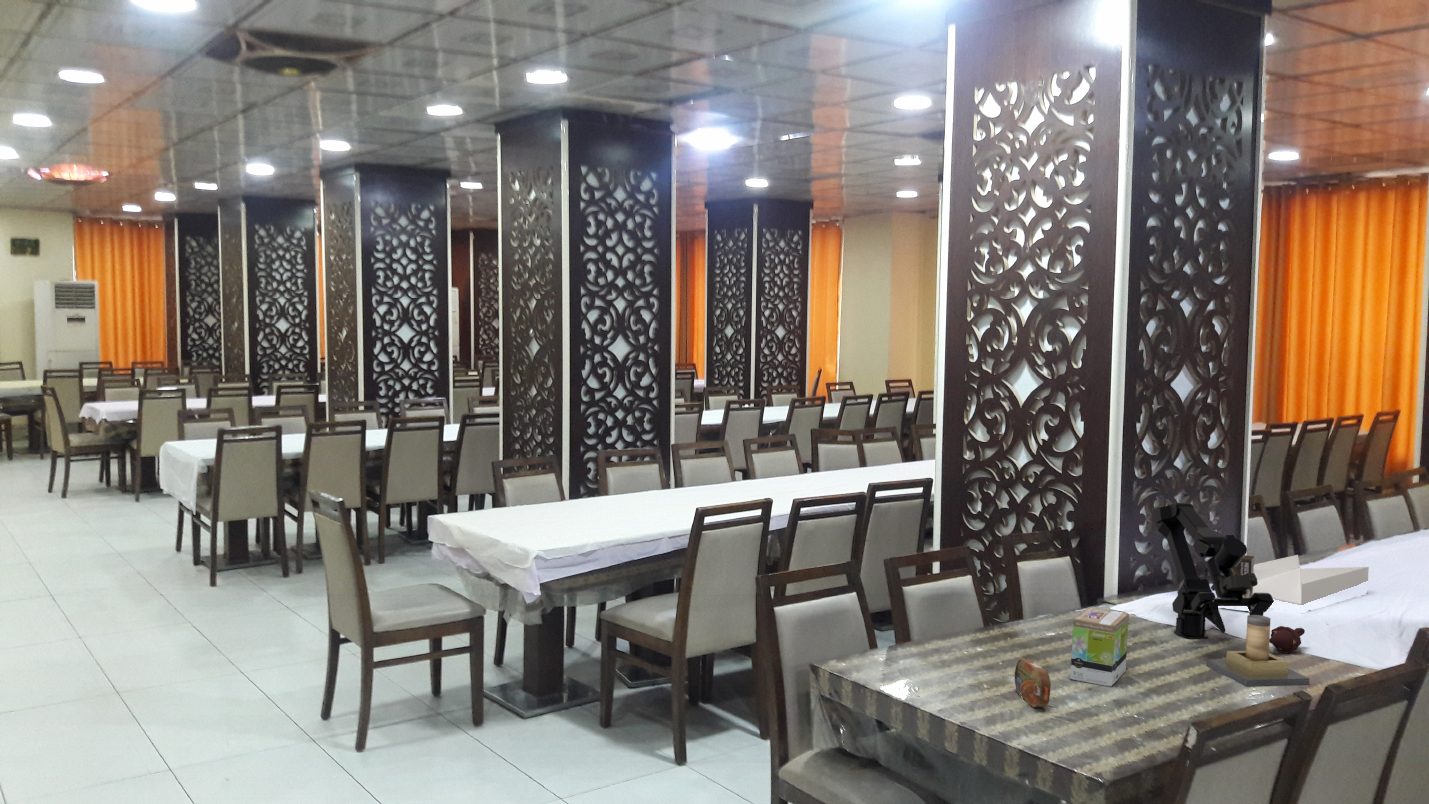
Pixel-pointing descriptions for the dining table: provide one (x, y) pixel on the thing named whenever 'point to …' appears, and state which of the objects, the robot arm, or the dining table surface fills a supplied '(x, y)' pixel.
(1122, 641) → the tea box
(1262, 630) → the tan cylinder
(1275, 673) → the socket
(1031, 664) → the tin
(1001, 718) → the dining table surface
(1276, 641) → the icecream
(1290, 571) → the building model
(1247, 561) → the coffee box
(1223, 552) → the robot arm
